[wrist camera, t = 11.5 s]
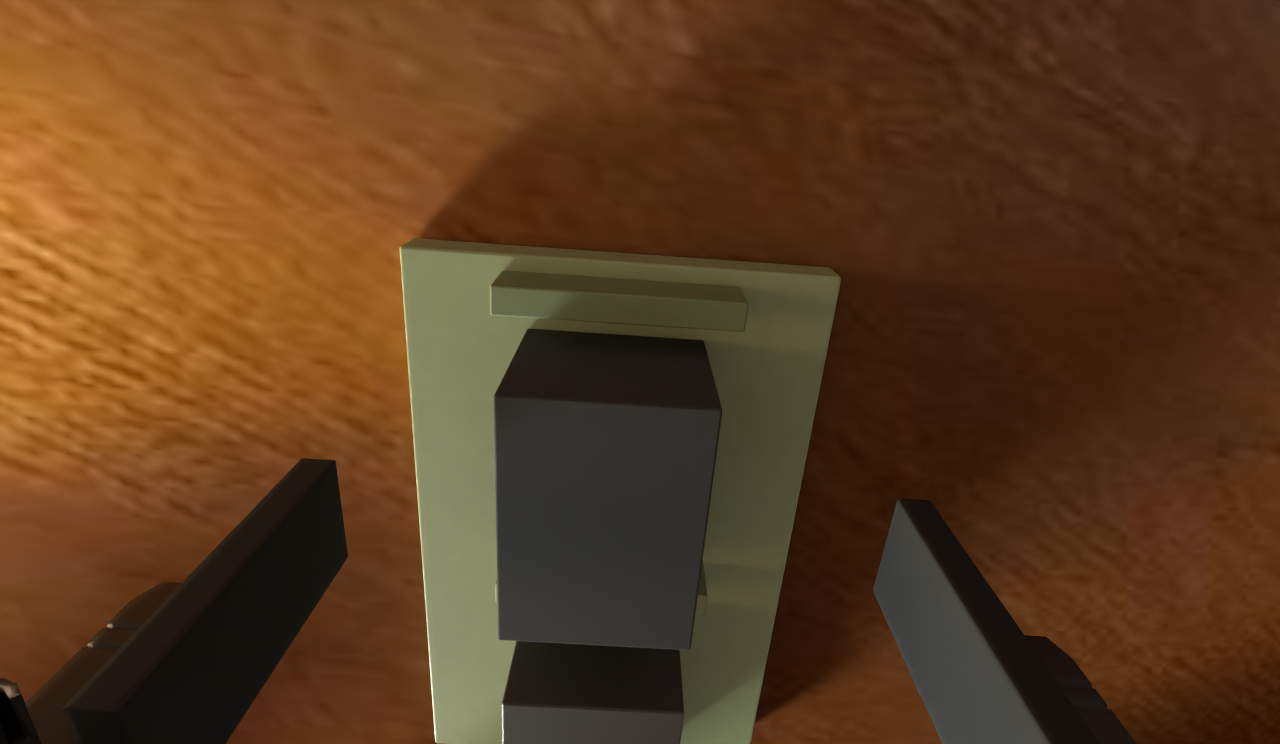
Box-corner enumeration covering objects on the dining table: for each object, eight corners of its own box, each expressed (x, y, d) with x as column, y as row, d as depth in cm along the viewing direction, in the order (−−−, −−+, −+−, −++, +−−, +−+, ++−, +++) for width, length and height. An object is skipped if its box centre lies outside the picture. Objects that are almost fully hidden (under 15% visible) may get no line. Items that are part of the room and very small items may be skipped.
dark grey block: (526, 327, 18) (492, 394, 14) (704, 339, 18) (722, 409, 14) (526, 533, 21) (497, 640, 17) (680, 542, 21) (690, 651, 17)
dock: (412, 237, 18) (321, 291, 13) (830, 266, 19) (905, 331, 13) (443, 716, 26) (392, 875, 20) (743, 731, 26) (770, 891, 21)
